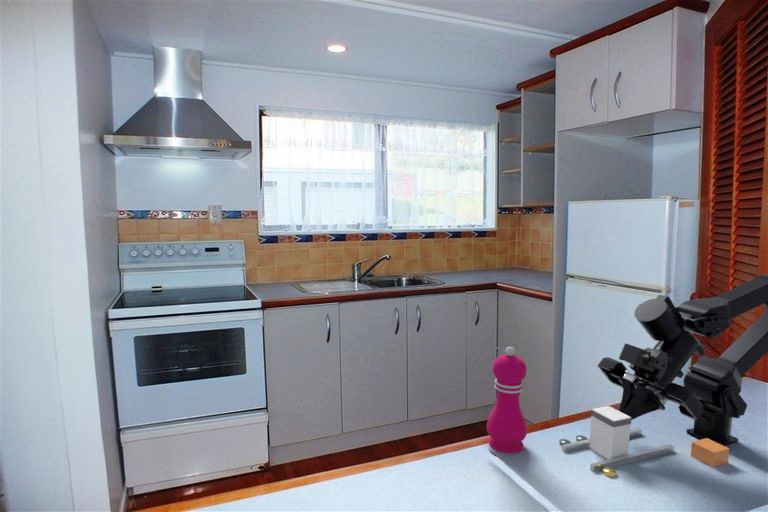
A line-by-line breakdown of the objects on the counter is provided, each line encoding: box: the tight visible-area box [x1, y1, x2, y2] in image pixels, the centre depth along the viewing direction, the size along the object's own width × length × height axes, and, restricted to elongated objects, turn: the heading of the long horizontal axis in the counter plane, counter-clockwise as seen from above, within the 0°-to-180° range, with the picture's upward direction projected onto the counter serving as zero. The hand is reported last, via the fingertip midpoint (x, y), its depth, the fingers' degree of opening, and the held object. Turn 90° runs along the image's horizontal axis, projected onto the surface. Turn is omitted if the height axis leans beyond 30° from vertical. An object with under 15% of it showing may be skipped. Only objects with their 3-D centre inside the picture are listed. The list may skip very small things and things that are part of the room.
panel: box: [558, 427, 675, 478], centre depth 90 cm, size 20×14×2 cm
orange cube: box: [690, 438, 730, 468], centre depth 87 cm, size 4×4×4 cm
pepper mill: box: [486, 346, 528, 458], centre depth 90 cm, size 7×7×20 cm
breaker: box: [588, 405, 632, 460], centre depth 89 cm, size 4×5×8 cm
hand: (619, 421), depth 89 cm, fingers closed, pressing on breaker
